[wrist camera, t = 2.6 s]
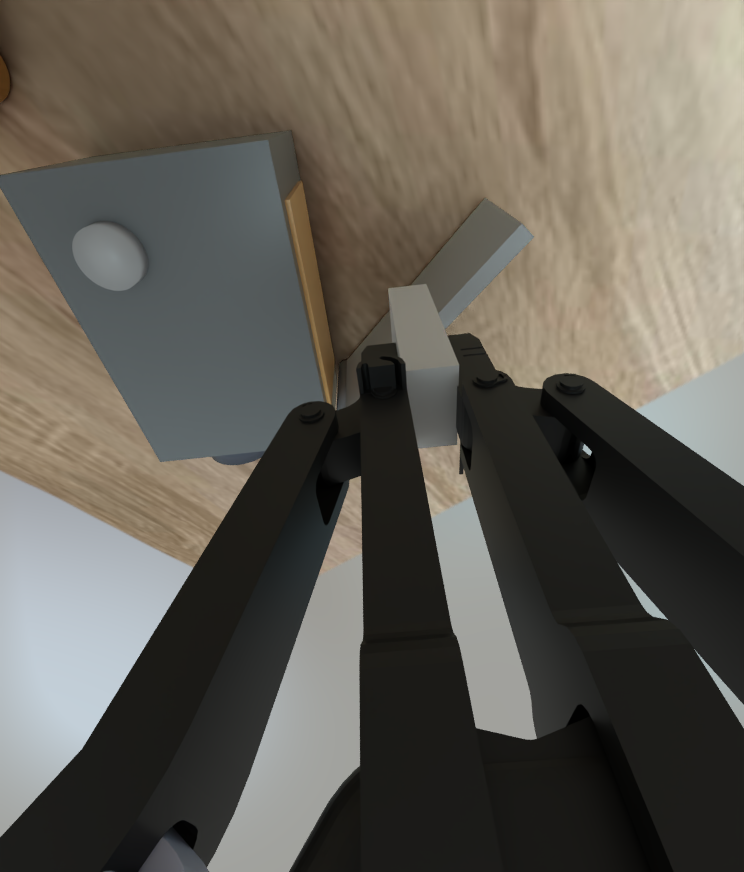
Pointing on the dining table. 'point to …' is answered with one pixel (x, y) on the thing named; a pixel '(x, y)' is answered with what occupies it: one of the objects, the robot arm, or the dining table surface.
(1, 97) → the binoculars
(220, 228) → the camera body
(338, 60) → the dining table surface
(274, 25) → the dining table surface
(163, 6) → the dining table surface
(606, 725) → the robot arm
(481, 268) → the side door
